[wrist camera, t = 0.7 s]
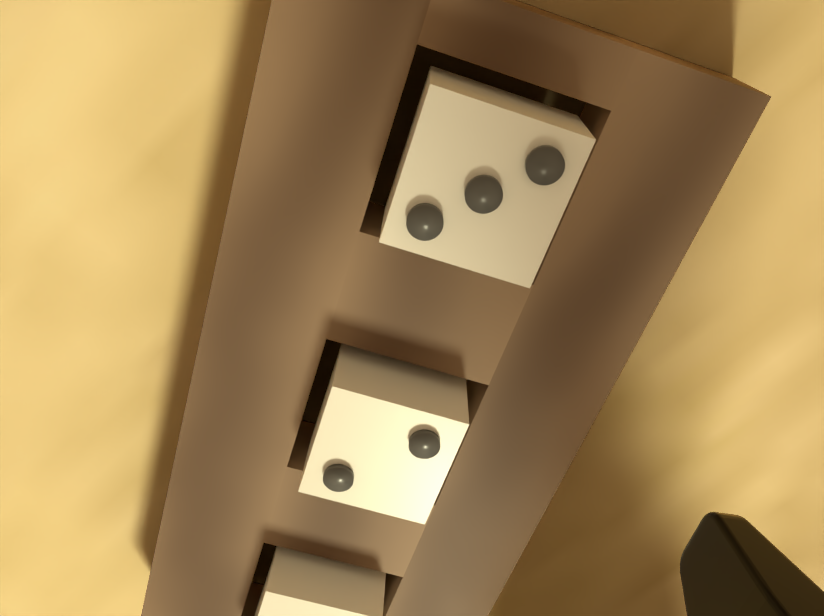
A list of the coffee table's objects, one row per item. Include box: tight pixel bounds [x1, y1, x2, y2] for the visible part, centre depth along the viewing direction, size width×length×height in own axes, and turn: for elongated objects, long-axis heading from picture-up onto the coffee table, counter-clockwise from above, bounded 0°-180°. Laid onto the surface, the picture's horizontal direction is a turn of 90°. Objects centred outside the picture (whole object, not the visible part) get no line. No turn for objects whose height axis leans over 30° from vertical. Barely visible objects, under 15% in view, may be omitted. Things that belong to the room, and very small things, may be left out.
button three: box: [379, 66, 596, 288], centre depth 18 cm, size 4×4×3 cm
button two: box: [298, 343, 469, 524], centre depth 22 cm, size 4×4×3 cm
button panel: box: [141, 0, 771, 616], centre depth 23 cm, size 12×25×2 cm, turn 162°
